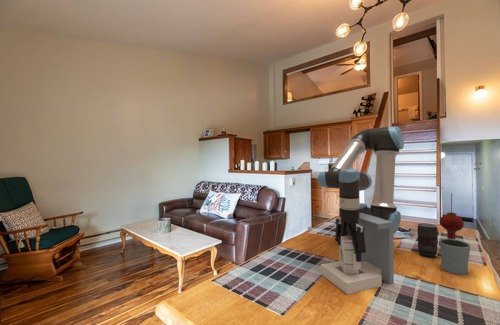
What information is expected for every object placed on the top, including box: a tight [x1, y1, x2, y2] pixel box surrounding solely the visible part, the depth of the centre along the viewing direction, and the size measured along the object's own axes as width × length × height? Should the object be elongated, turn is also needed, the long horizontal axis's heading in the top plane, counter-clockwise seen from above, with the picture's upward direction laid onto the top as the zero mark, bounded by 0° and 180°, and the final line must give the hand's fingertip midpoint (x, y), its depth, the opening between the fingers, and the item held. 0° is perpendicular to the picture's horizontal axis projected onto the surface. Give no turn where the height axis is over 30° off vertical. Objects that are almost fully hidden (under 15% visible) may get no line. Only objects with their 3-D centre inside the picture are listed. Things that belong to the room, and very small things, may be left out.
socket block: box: [320, 213, 395, 295], centre depth 98 cm, size 16×22×24 cm
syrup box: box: [341, 236, 359, 276], centre depth 97 cm, size 6×6×14 cm
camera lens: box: [416, 222, 439, 259], centre depth 119 cm, size 8×8×15 cm
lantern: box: [439, 193, 464, 240], centre depth 121 cm, size 10×10×30 cm
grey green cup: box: [438, 238, 471, 276], centre depth 103 cm, size 10×10×12 cm
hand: (349, 264), depth 97 cm, fingers closed on syrup box, 7 cm apart
